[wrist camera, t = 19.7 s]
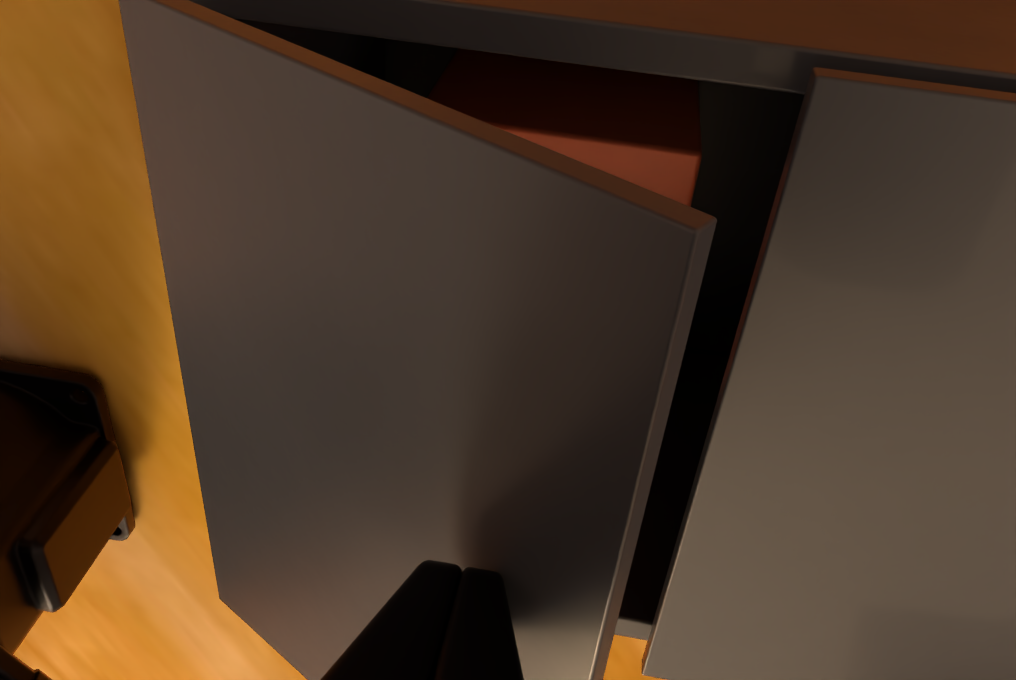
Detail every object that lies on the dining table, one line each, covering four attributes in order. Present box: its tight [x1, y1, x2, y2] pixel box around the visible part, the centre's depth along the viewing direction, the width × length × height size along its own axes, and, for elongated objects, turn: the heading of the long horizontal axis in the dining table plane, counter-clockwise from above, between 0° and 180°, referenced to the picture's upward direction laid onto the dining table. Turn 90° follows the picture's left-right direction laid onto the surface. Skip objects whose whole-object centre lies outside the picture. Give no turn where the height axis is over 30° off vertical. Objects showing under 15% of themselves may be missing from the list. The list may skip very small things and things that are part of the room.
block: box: [427, 48, 702, 207], centre depth 17 cm, size 4×4×4 cm
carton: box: [189, 0, 1016, 680], centre depth 15 cm, size 14×10×9 cm
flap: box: [119, 0, 717, 680], centre depth 10 cm, size 7×10×1 cm
